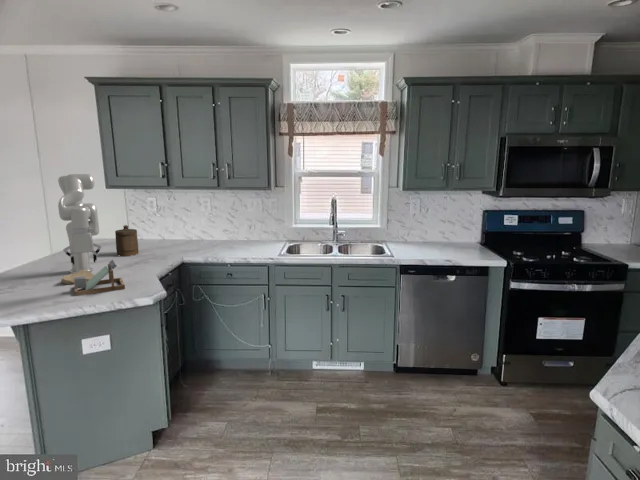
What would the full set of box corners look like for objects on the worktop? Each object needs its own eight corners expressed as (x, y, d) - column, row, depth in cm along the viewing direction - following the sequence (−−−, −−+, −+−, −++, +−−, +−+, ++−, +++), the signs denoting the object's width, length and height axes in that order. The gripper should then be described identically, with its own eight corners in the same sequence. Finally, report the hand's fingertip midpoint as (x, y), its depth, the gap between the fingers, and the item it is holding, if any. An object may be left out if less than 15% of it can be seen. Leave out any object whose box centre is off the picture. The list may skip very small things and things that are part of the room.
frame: (74, 287, 218) (72, 267, 216) (121, 280, 230) (119, 262, 228) (75, 295, 204) (72, 275, 202) (125, 288, 216) (123, 269, 214)
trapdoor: (86, 285, 220) (84, 283, 219) (114, 261, 225) (112, 259, 224) (87, 292, 208) (85, 290, 207) (117, 266, 214) (114, 264, 213)
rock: (100, 276, 241) (99, 269, 240) (95, 284, 227) (95, 277, 226) (66, 277, 235) (66, 270, 234) (60, 286, 221) (59, 278, 220)
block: (85, 285, 216) (75, 286, 213) (85, 276, 215) (74, 277, 212) (86, 287, 211) (75, 288, 209) (85, 278, 211) (74, 279, 208)
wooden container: (136, 251, 309) (134, 223, 305) (140, 255, 296) (138, 225, 292) (115, 253, 301) (113, 224, 296) (118, 257, 288) (115, 227, 284)
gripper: (99, 228, 216) (102, 259, 219) (61, 231, 207) (65, 263, 210) (100, 230, 209) (103, 262, 213) (61, 233, 200) (64, 266, 204)
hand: (84, 262), depth 211 cm, fingers open, 9 cm apart
